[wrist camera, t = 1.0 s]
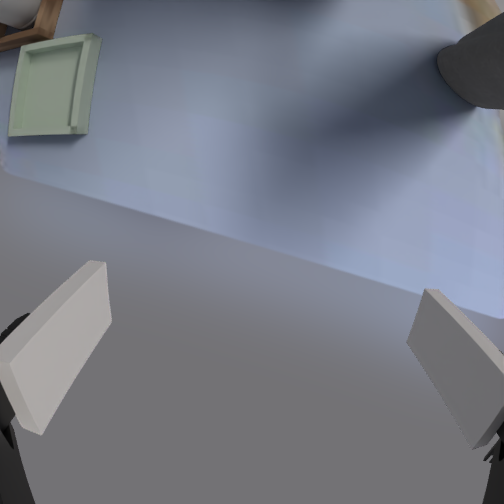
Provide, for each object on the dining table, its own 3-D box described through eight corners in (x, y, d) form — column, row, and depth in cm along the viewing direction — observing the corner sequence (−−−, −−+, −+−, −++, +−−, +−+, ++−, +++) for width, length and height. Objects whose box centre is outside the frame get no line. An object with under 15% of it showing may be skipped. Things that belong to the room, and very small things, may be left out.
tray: (33, 49, 31) (21, 46, 28) (102, 39, 31) (92, 33, 29) (20, 135, 35) (7, 136, 32) (87, 134, 35) (76, 134, 33)
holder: (15, -11, 26) (2, -18, 22) (72, -29, 27) (60, -39, 23) (-4, 53, 30) (-19, 49, 26) (52, 39, 31) (37, 33, 27)
